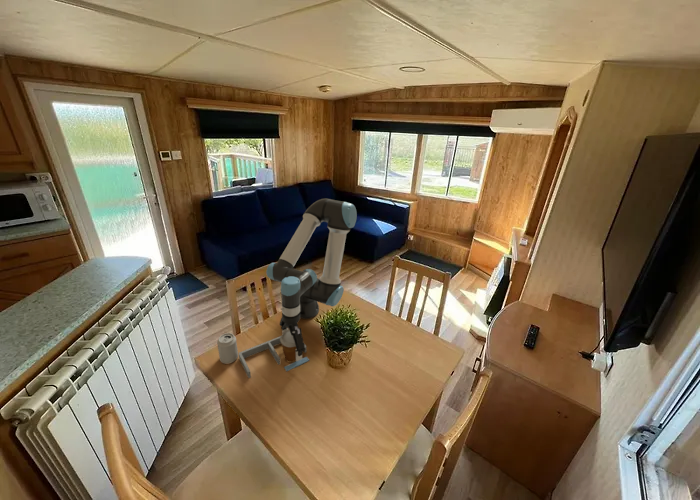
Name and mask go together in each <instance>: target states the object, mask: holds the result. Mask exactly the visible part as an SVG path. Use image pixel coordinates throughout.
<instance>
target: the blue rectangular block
mask: <svg viewBox="0 0 700 500" xmlns="http://www.w3.org/2000/svg"><path fill="white" fill-rule="evenodd" d="M307 362H310V359H309V358H308V356H305V357H302V359H301V360H299V361H296V360H295V361H293V362H291V363H289V364H288V365H284V367H283V368H284V370H285V372H288V371H291V370H294V369H296V368H298V367H300V366H301V365H304V364H305V363H307Z"/></svg>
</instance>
